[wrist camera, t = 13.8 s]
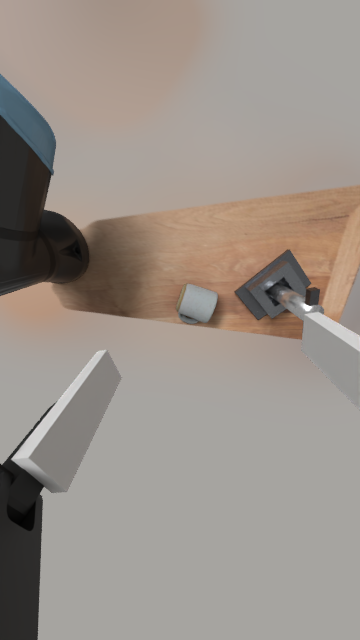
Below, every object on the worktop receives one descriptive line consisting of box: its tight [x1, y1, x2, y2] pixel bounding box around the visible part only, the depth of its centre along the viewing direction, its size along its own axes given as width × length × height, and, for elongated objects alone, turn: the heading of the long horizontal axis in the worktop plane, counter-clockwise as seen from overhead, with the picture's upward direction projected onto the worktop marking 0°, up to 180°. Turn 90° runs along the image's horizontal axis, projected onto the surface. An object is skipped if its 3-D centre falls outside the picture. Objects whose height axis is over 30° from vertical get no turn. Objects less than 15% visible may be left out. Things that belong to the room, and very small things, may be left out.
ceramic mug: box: [176, 284, 218, 324], centre depth 40 cm, size 11×8×8 cm
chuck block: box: [235, 250, 311, 320], centre depth 39 cm, size 10×14×4 cm
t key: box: [265, 283, 324, 333], centre depth 34 cm, size 8×3×15 cm, turn 13°
